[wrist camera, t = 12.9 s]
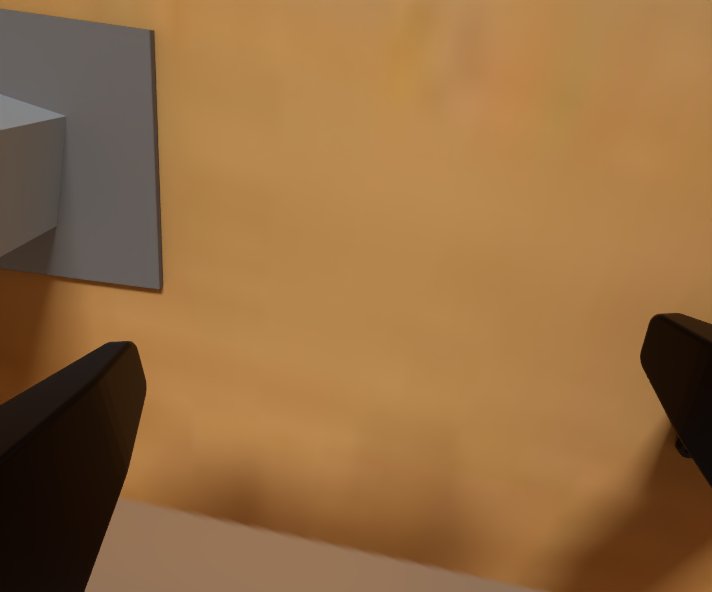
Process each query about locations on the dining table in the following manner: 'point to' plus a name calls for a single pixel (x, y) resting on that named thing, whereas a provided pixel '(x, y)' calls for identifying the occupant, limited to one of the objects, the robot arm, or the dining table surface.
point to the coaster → (92, 145)
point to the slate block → (28, 171)
